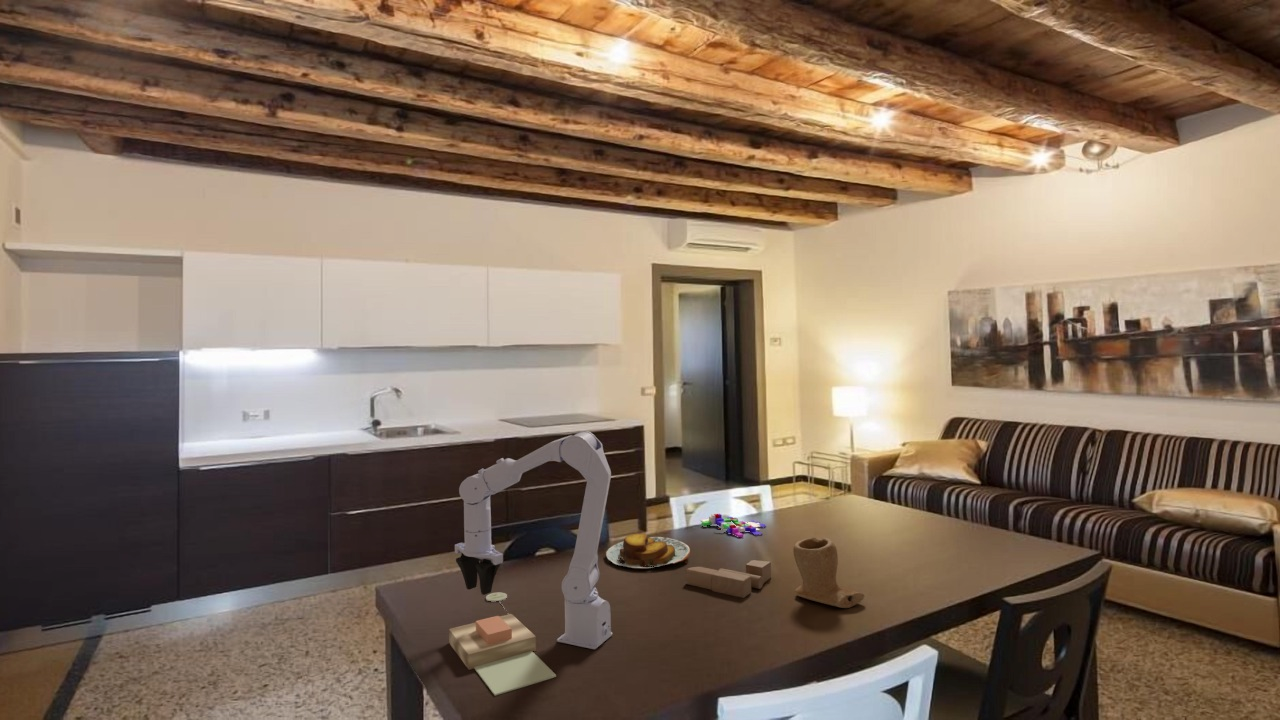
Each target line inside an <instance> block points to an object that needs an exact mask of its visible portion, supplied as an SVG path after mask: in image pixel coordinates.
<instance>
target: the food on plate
mask: <svg viewBox="0 0 1280 720" xmlns="http://www.w3.org/2000/svg"><path fill="white" fill-rule="evenodd" d="M690 553H691V548H690V546H689V545H688V544H686V543H685V542H683V541H680V540H678V539H674V538H670V537H664V536H663V537H662V536H650V537H648V535H647V534H646V533H633V534H629V535H627V536H625V537H624V539H623V541H621V542H620V541H619V542H618V543H615V544H613V545H611V546H610V547H609V548H608V549H607V550H606V551H605V554H606V555H605V556H606V558H607V561H610V562H612V564H614V565H616V566H617V565H618V566H620V567H621V566H623V567H627V568H632V569H651V568H652V569H653V568H655V567H662V566H665V565H670V564H677V563H679V562H684V563H685V564H687V563H688V562H687V559H688V558H689V556H690ZM619 556H621V557H623V559H624V560H625V561H624V560H623V559H622V560H623V561H624V563H623V562H622V563H623V564H622V563H620V562H621V561H619V562H618V561H617V560H619V559H618V557H619ZM684 560H685V561H684ZM645 565H647V566H645ZM650 565H657V566H654V567H653V566H652V567H651V566H650ZM642 566H644V567H642ZM648 566H649V567H648Z"/></svg>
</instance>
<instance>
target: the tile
mask: <svg viewBox="0 0 1280 720" xmlns="http://www.w3.org/2000/svg"><path fill="white" fill-rule="evenodd" d="M475 623H476V631H477V632H478V634H479V635H480V636H481V637H482V638H483V639H484V641H485V642H486V643H487V644H488V645H489V644H492V643H496V642H500V641H504V640H508V639H511V638H512V629H511V628H510V627H509V626H508V625H507V624H506V623H505V622H504V621H503V620H502V619H501V618H500V616H499V615H495V616H491V617H486V618H483V619H478V620H475Z"/></svg>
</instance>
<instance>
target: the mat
mask: <svg viewBox="0 0 1280 720" xmlns="http://www.w3.org/2000/svg"><path fill="white" fill-rule="evenodd" d="M473 670H475V671H476V673H477V674H478V675H479V677H480V678H481V679H482V681H483V683H484V684H485V685H486V686H487V687H488V688H489V690H490V691H491V693H492V694H493V696H494V697H495V696H499V695H502V694H505V693H508V692H512V691H515V690H518V689H521V688H525V687H528V686H531V685H535V684H538V683H541V682H544V681H547V680H550V679H553V678H556V677H557V674H556V673H555V672H553V670H552V669H551V668H550V667H549V666H548V665H547V664H546V663H545V662H544V661H543V660H542V659H541V658H540V657H539V656H538V655H536V654H535V652H532V651H529V652H526V653H522V654H519V655H515V656H512V657H508V658H505V659H501V660H497V661H494V662H490V663H487V664H483V665H480V666H476V667H474V669H473Z"/></svg>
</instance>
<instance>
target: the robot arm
mask: <svg viewBox="0 0 1280 720" xmlns="http://www.w3.org/2000/svg"><path fill="white" fill-rule="evenodd" d="M603 446H604V445H603V443H602V442H601V441H600V440H599V439H598V438H597V437H596V435H595V434H593V433H592V432H591V431H586V430H581V431H579V432H577V433H575V434H574V435H573V434H570V435H568V436H567V435H566V436H564V437H561V438H559V439H555V440H553V441H551V442H549V443H547V444H545V445H542V447H539V448H537V449H536V450H534V451H531V452H529V453H528V454H526V455H524V456H523V457H520V458H519V459H516V460H515V459H513V458H509V457H507V458H505V459H504V457H502V458H500V459H497V460H496V462H495V464H493V465H491V466H490V467H487V468H485V469H484V468H481V469H479V470H477V472H478V473H476V474H473V475H470V476H467V477H466V478H465V479H464V480H462V482H461V483H460V485H459V488H458V492H459V496H460V498H461V499H462V501H463V528H464V530H463V531H464V532H463V533H464V542H459V543H456V544H454V554H456V555H458V554H461V555H460V556H459V557H456V558H455V563H456V564H457V565H458V567H459V569H460V571H461V574H462V576H463V579H464V584H465V587H466V589H467V590H472V589H475V588H477V584H478V579H479V586H480V587H479V589H480V593H481V595H482V596H484V595H489V594H491V593H492V588H493V583H494V581H495V577H496V574H497V572H498V569H499V567H500V566H501V564H502V563H504V553H502V552H500V551H499V550H496V549H495V545H494V544H492V516H491V515H492V514H491V511H492V510H491V496H492V495H495V494H497V493H499V492H501V491H503V490H505V489H508V488H509V487H512V486H513V485H515V484H518V483H519V482H520V481H521V478H522V475H523V474H524V473H526V472H528V471H530V470H532V469H535V468H537V467H539V466H541V465H543V464H546V463H547V462H549V461H553V462H558V463H561V462H563V461H564V462H565V463H566V464H567V465H569V466H570V467H572V468H574V469H575V470H576V471H578V472H579V473H580V474H581V476H582V477H583V478H584V479H585V481H586V486H585V492H584V497H583V501H582V508H581V513H580V514H581V515H580V518H579V525H578V530H577V535H576V539H575V540H576V541H575V546H574V551H573V556H572V558H571V561H570V564H569V568H568V570H567V571H568V572H567V573H566V575H565V576H564V578H563V579H562V582H561V592H562V594H563V595H564V628H565V629H564V634H561V636H560V637H558V638H557V639H556V641H557V642H558V643H562V644H568V645H573V646H577V647H579V648H580V647H581V648H587V649H590V650H597V649H598V647H600V646H601V645H602V644H604V642H605V641H607V640H608V639H609V638H610V637H612V636H613V632H612V627H611V626H612V625H611V623H612V621H611V620H612V619H611V618H612V617H611V616H612V615H611V605H610V603H609V601H608V600H605V599H603V598H602V597H600V596H599V591H598V589H597V588H596V584H597V583H598V581H599V579H600V569H599V566H598V562H599V561H598V560H599V554H598V550H599V543H600V539H601V534H602V527H603V522H604V518H605V517H604V516H605V510H606V507H607V506H606V505H607V500H608V495H609V491H610V490H609V489H610V483H611V478H612V471H611V468H610V465H609V463H608V460H607V457H606V454H605V452H604V447H603ZM481 560H482V561H481Z"/></svg>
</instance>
